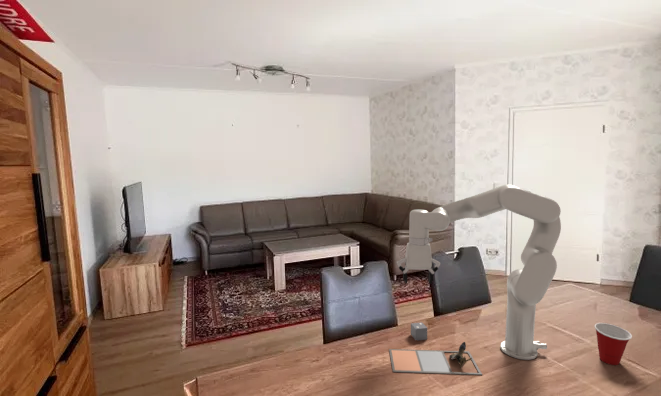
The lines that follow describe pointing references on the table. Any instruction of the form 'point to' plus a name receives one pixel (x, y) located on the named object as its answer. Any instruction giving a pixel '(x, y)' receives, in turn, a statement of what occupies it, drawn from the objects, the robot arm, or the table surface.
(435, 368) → the board
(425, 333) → the die
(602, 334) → the plastic cup
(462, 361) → the eagle figurine
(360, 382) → the table surface
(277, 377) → the table surface
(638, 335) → the table surface
